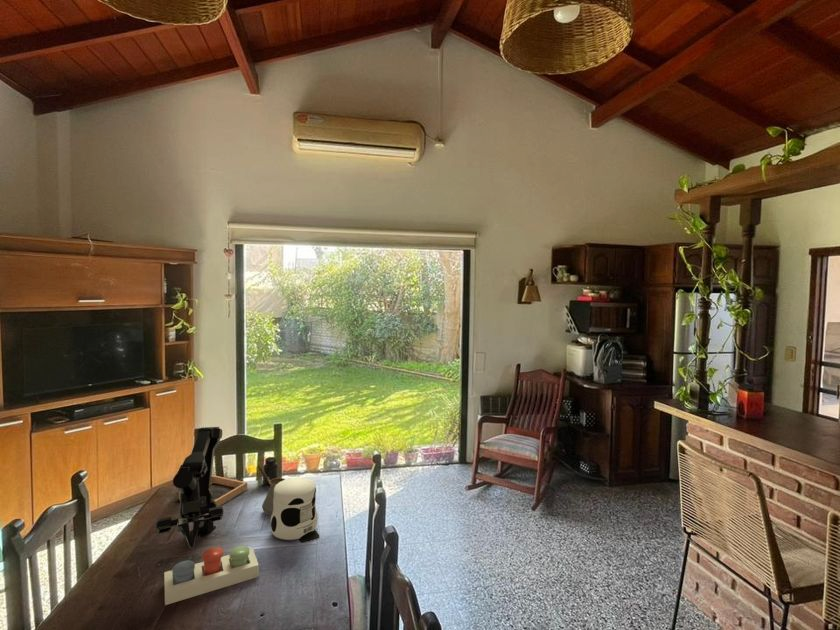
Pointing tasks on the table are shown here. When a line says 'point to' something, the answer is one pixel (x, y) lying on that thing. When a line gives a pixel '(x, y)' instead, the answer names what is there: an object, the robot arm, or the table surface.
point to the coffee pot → (269, 493)
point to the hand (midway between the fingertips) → (191, 547)
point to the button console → (209, 579)
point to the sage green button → (239, 556)
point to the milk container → (294, 509)
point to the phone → (310, 537)
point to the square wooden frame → (237, 484)
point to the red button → (212, 561)
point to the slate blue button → (183, 571)
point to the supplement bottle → (270, 470)
